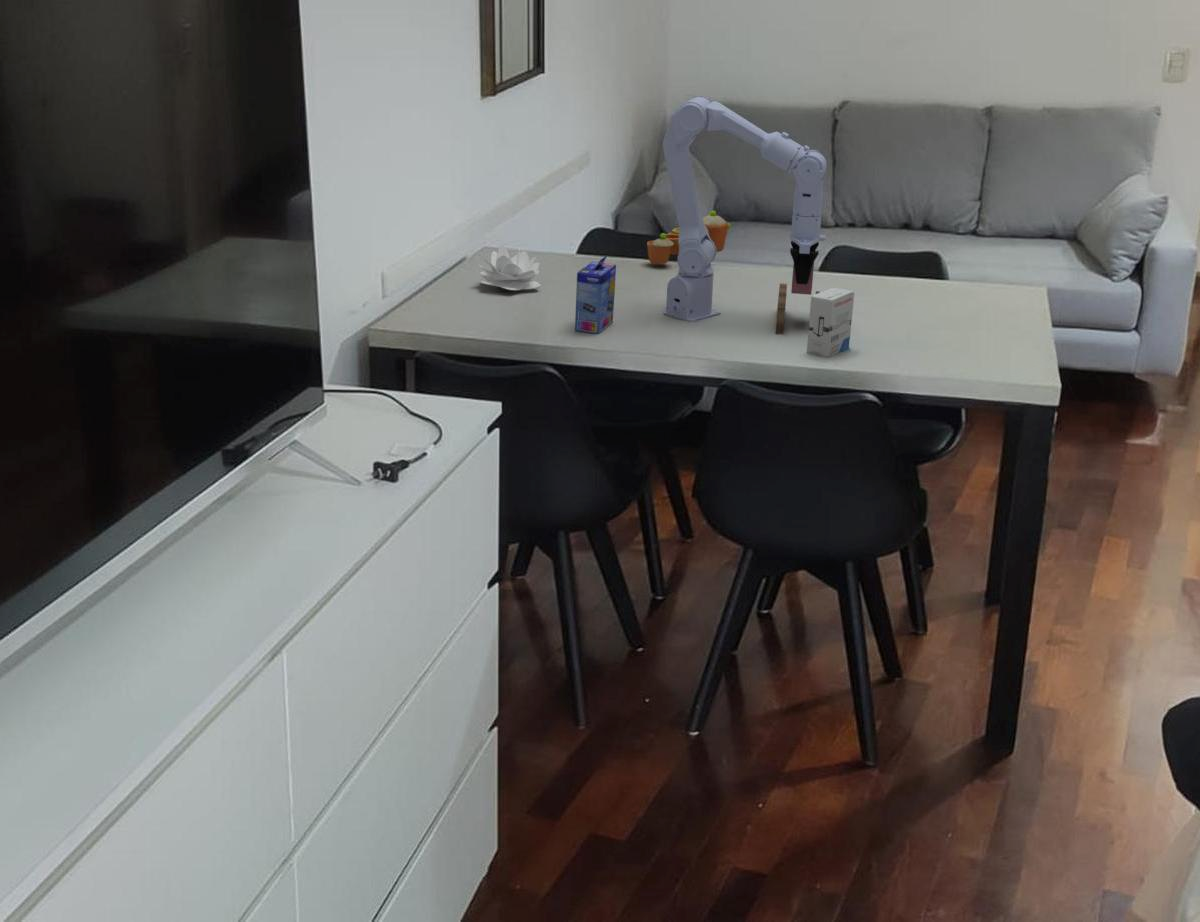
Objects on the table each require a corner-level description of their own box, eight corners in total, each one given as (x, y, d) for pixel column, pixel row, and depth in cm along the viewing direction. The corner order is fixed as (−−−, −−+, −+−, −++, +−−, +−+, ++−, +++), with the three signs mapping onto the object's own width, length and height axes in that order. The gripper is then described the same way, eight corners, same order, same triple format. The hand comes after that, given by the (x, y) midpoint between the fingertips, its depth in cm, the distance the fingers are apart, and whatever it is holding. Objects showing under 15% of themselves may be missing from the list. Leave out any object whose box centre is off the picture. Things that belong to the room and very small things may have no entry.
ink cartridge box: (600, 335, 287) (601, 263, 281) (573, 331, 288) (574, 260, 283) (615, 321, 296) (617, 251, 290) (589, 318, 297) (590, 249, 292)
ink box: (828, 344, 284) (833, 285, 280) (850, 349, 282) (855, 290, 277) (805, 354, 278) (809, 294, 274) (827, 359, 275) (832, 299, 271)
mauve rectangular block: (811, 294, 292) (813, 260, 290) (791, 293, 293) (793, 259, 290) (812, 287, 297) (814, 254, 294) (792, 286, 298) (795, 253, 295)
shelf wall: (783, 334, 290) (785, 307, 288) (775, 333, 290) (777, 307, 288) (785, 309, 306) (787, 283, 304) (778, 308, 306) (779, 283, 304)
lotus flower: (517, 298, 310) (516, 258, 307) (462, 286, 318) (461, 247, 315) (556, 283, 321) (556, 245, 318) (502, 272, 329) (502, 235, 326)
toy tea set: (673, 239, 362) (675, 201, 359) (733, 246, 357) (735, 207, 353) (636, 263, 340) (637, 222, 336) (699, 270, 335) (701, 229, 331)
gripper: (827, 223, 282) (821, 290, 287) (827, 206, 295) (821, 271, 300) (790, 221, 283) (786, 288, 288) (792, 205, 296) (787, 270, 301)
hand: (802, 280), depth 294 cm, fingers closed on mauve rectangular block, 5 cm apart
